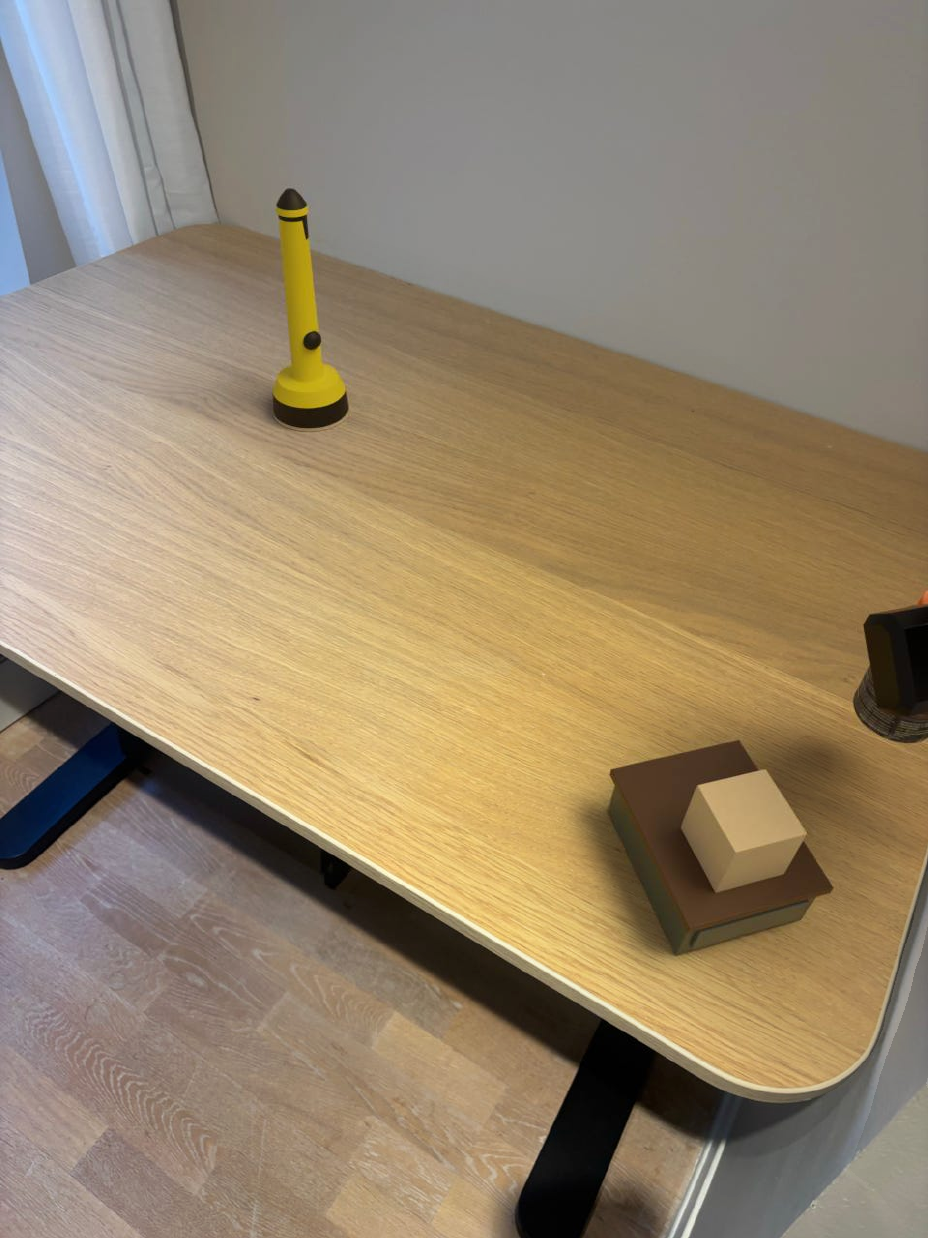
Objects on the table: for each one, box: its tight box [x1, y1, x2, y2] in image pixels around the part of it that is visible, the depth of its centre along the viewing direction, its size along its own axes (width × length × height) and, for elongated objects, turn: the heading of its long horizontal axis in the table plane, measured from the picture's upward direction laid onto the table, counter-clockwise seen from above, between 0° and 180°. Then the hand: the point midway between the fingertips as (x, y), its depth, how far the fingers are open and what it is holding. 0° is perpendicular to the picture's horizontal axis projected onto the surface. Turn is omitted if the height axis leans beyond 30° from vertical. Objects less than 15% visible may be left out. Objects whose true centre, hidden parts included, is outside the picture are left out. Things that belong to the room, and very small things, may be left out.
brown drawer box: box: [607, 739, 834, 957], centre depth 61 cm, size 12×10×5 cm
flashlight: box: [272, 187, 350, 433], centre depth 95 cm, size 25×9×9 cm
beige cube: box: [681, 768, 808, 893], centre depth 56 cm, size 5×5×5 cm
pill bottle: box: [852, 589, 928, 744], centre depth 61 cm, size 6×6×11 cm
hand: (915, 640), depth 62 cm, fingers closed on pill bottle, 6 cm apart
